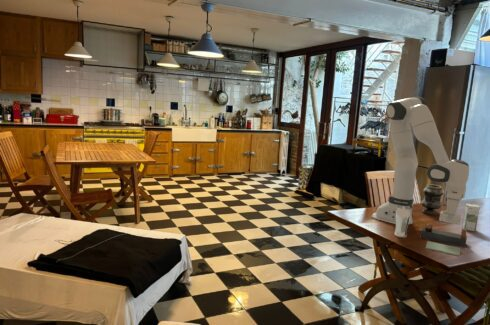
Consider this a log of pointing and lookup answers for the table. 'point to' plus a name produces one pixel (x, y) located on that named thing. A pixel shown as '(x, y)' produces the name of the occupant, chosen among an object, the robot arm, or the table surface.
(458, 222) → the lever cap
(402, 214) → the beer glass
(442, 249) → the rubber mat
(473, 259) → the table surface
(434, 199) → the apothecary jar
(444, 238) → the plane body
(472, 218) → the syrup box
